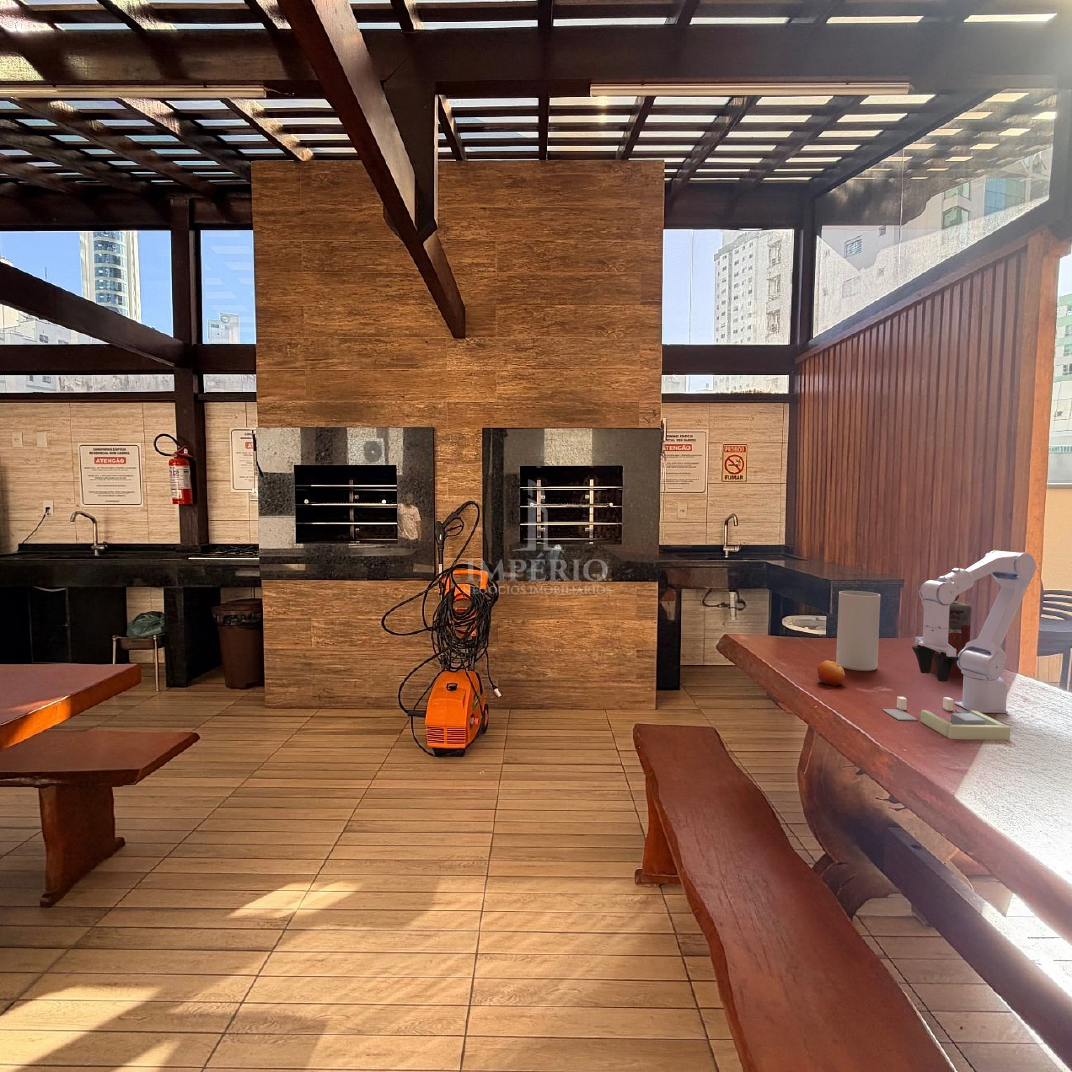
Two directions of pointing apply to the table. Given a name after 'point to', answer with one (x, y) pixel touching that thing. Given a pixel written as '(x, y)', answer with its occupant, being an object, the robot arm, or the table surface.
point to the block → (966, 719)
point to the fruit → (831, 673)
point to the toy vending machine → (957, 632)
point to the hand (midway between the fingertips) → (933, 677)
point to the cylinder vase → (858, 630)
